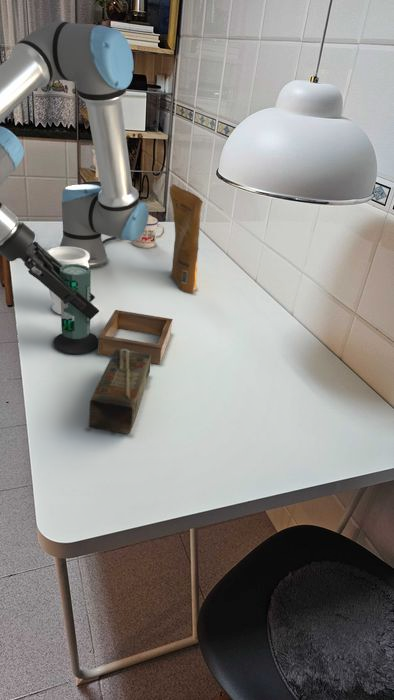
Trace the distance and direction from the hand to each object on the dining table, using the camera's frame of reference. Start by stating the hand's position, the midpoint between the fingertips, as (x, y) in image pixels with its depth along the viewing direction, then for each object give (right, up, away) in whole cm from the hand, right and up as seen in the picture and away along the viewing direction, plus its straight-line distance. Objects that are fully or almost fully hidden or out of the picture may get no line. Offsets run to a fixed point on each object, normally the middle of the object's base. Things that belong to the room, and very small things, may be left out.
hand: (92, 307), depth 104 cm
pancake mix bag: (+18, +11, +41) cm, 46 cm away
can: (-4, -6, +2) cm, 7 cm away
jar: (-10, +1, +18) cm, 20 cm away
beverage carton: (+9, -19, -13) cm, 25 cm away
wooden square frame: (+9, -8, +6) cm, 14 cm away
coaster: (-4, -8, +3) cm, 10 cm away
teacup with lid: (+5, +29, +68) cm, 74 cm away
